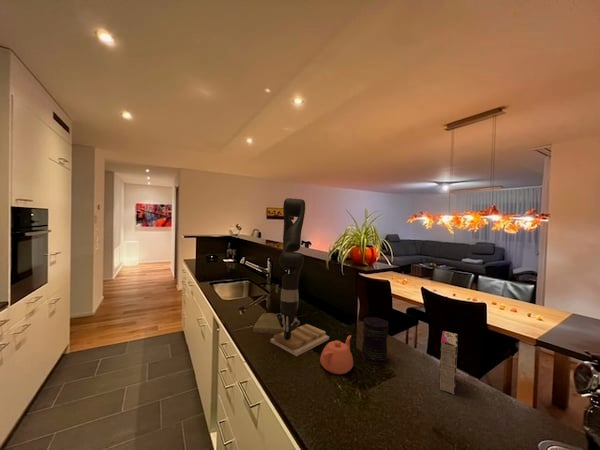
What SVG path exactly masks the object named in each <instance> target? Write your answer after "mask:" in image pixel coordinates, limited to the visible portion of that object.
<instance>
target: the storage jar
mask: <svg viewBox="0 0 600 450" xmlns="http://www.w3.org/2000/svg"><path fill="white" fill-rule="evenodd" d="M362 329H363V330H362V334H363V340H362V345H361V351H362V352H361V356H362V358H363V360H364V361H366V362H368V363H370V364H373V365H374V364H375V365H383V364H385V363H386V362H387V355H388V346H387V344H388V341H387V340H388V337H389V322H388V320H385V319H383V318H380V317H377V316H376V317H375V316H367V317H365V318H364V319H363V328H362Z"/></svg>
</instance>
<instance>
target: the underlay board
mask: <svg viewBox="0 0 600 450" xmlns="http://www.w3.org/2000/svg"><path fill="white" fill-rule="evenodd" d="M329 340H330V336H329V335H327V334H326V335H324V336H322V337H320V338H318V339H316V340H314V341H311V342H309V343H307V344H304V345H302V346H300V347H297V348H295V349H292V348H290V347H288V346H286V345H284V344H282V343H280V342H279V341H277V340H275V339H274V337H272V338H270V343H271V344H273V345H275V346H277V347H279V348H281V349H283V350H284V351H286V352H288V353H290V354H291V355H293V356H295V357H298V356H300V355H301V354H302V355H303V354H304V353H307V352H308V351H310V350H312V349H314V348H315V347H317V346H319V345H321V344H324V343H325V342H327V341H329Z"/></svg>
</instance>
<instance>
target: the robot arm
mask: <svg viewBox="0 0 600 450" xmlns="http://www.w3.org/2000/svg"><path fill="white" fill-rule="evenodd" d="M282 211H283V234H282V251H281V253H280V256H279V258H278V265H279V266H280V268H281V269H283V270H285V271H292V272H291V273H285V274H283V275H282V278H281V291H280V307H279V309H280V312H279V313H280V314H278V313H276V314H277V318H278V321H279V323H280V326H281V328H283V329H284V339H286V340H289V339H290V338H291V331H293V330H295V329H296V328H298V327H299V326H300V325H301V323H302V321H301V320H299V319H298V315H297V312H298V309H299V294H300V293H299V281H300V274H301V271H302V268H303V265H304V262H305V257H304V255H303V253H301V252H299V250H300V249H301V243H302V242H301V240H302V231H303V225H304V219H305V213H306V201H305V199H301V198H290V197H289V198H285V199H284V201H283V207H282ZM291 217H293V218H297V219H296V220H295V221H294V222H293V221H292V218H291ZM282 322H283V324H282ZM289 327H290V328H289Z"/></svg>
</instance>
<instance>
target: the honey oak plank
mask: <svg viewBox="0 0 600 450" xmlns="http://www.w3.org/2000/svg"><path fill="white" fill-rule="evenodd" d="M316 337H317V336H315V335H313V334H311V333H308V332H306V331H304V330H302V329H299V328H298V327H297V328H296V329H295V330H293V331H291V338H290V339H289V340H286V339H284V332H283V333H280V334H274V335H273V338H274V339H275V340H277V341H279V342H280V343H282V344H284V345H286V346H288V347H290V348H292V349H295V348H297V347H300V346H302V345H304V344H307V343H309V342H311V341H314V340H316Z"/></svg>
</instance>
